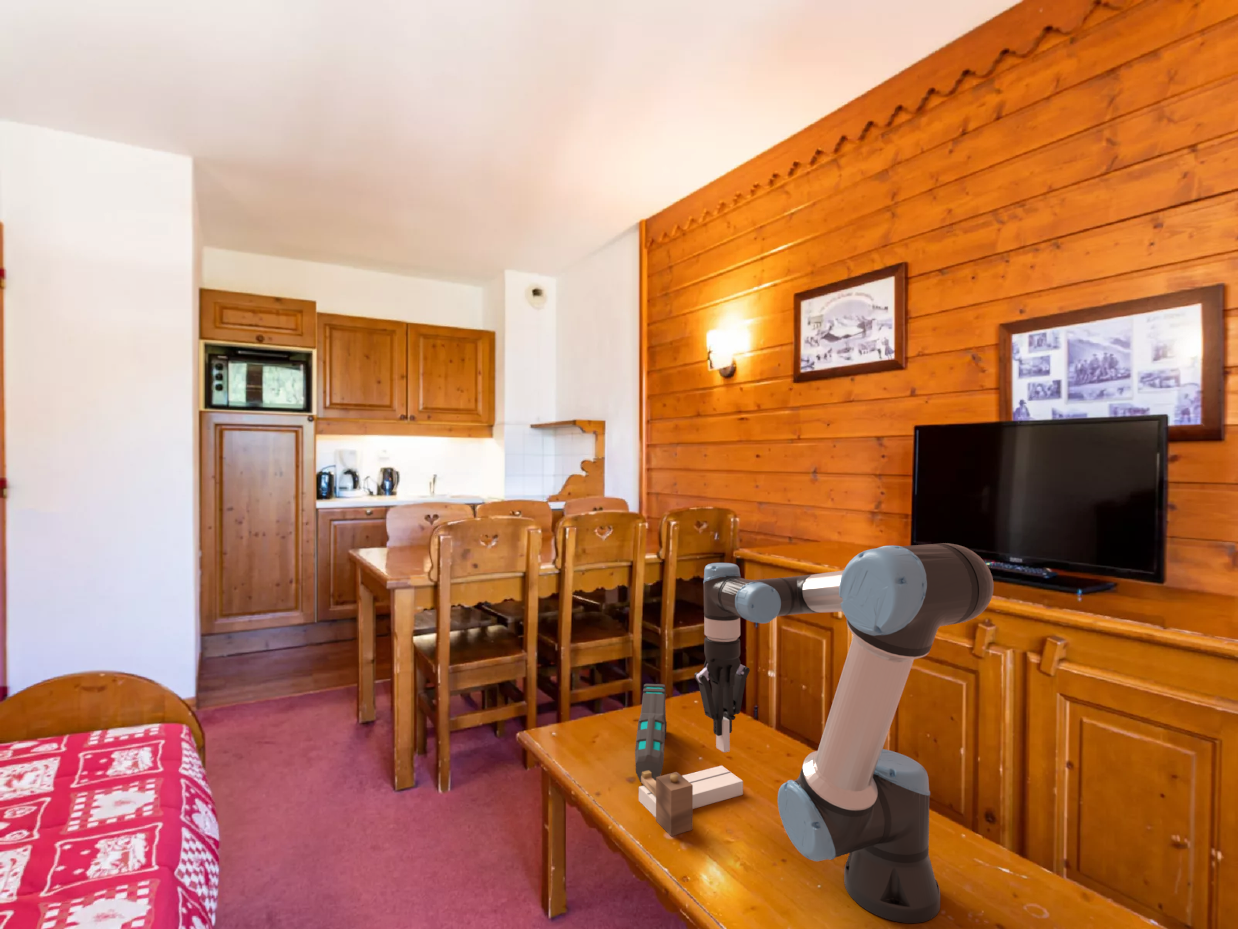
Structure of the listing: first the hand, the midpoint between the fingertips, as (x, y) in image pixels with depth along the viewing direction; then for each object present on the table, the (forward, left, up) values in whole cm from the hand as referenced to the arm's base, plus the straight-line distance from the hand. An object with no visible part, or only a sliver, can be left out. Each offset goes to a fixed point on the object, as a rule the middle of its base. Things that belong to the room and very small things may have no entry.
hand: (722, 749), depth 133 cm
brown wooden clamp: (+5, +12, -13) cm, 18 cm away
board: (+8, +3, -13) cm, 16 cm away
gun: (+29, +1, -14) cm, 32 cm away
